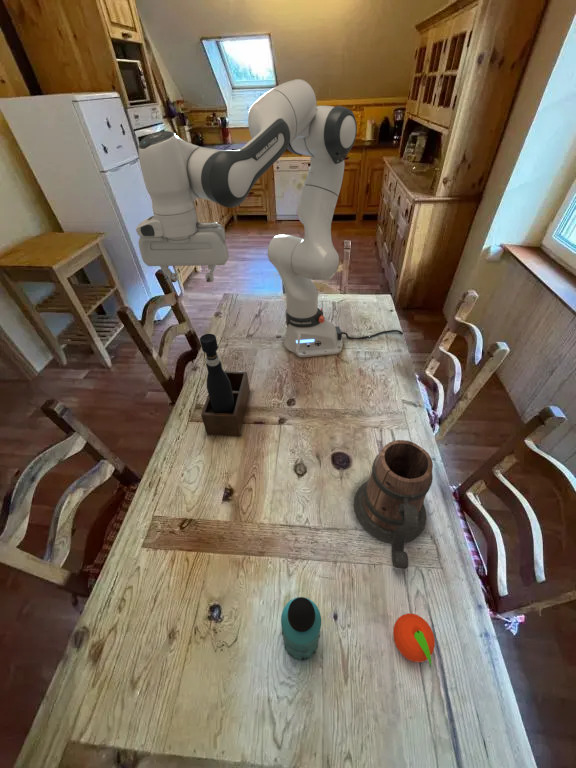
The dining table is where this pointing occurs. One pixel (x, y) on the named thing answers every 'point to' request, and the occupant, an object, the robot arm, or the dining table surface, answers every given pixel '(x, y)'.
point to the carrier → (224, 421)
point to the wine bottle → (217, 378)
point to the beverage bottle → (301, 628)
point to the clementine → (414, 638)
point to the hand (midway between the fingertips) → (192, 281)
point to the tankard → (396, 497)
